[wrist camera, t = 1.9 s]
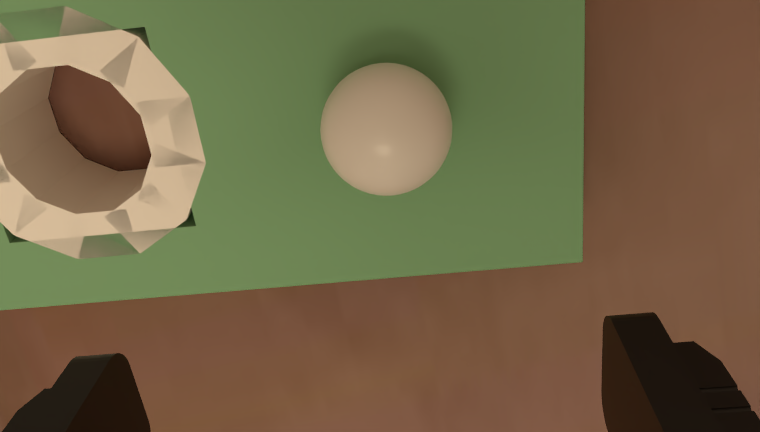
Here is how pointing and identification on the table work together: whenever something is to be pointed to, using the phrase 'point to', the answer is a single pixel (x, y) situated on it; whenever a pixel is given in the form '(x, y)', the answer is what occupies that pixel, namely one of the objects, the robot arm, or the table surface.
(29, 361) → the table surface
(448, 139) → the ball
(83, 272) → the green flat block
